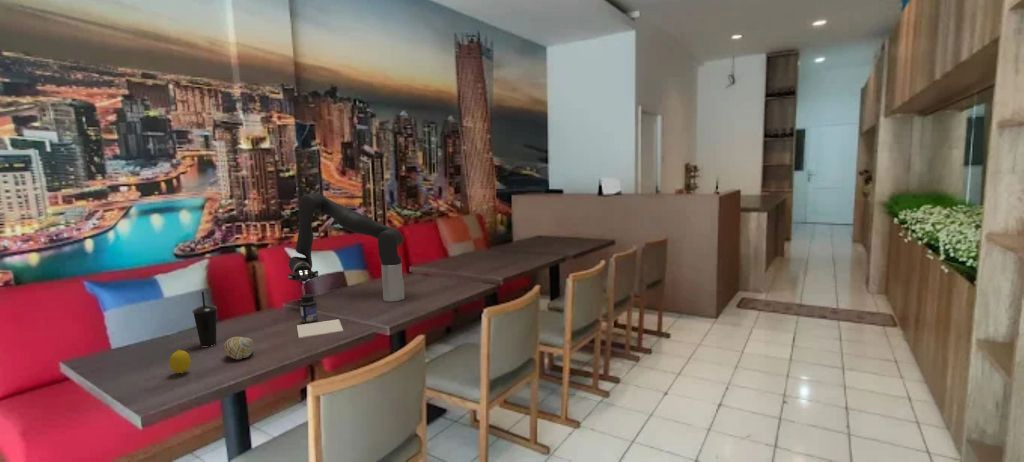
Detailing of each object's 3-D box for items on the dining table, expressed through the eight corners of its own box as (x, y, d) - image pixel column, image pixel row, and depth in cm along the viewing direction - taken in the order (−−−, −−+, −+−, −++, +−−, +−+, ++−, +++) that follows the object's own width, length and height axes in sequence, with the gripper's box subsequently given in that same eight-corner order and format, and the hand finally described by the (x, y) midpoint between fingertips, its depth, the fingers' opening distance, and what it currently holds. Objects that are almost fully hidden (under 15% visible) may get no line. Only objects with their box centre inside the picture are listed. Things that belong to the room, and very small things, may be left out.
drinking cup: (225, 342, 186) (219, 289, 183) (207, 350, 179) (201, 295, 176) (210, 340, 189) (204, 288, 186) (191, 347, 182) (184, 294, 179)
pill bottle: (320, 319, 211) (318, 293, 210) (313, 324, 205) (311, 297, 204) (306, 319, 212) (304, 293, 210) (298, 323, 206) (296, 297, 204)
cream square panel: (338, 320, 209) (338, 319, 209) (343, 331, 196) (343, 330, 196) (297, 326, 202) (296, 325, 202) (298, 338, 189) (298, 337, 189)
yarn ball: (235, 347, 179) (244, 323, 178) (256, 361, 178) (266, 337, 176) (212, 357, 170) (222, 332, 168) (235, 371, 168) (245, 346, 166)
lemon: (177, 370, 162) (174, 347, 161) (195, 369, 163) (192, 346, 161) (167, 378, 157) (164, 353, 155) (186, 377, 157) (183, 352, 156)
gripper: (286, 264, 228) (287, 272, 213) (317, 261, 234) (320, 269, 218) (287, 280, 229) (288, 289, 214) (318, 277, 235) (321, 286, 220)
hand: (304, 279), depth 216 cm, fingers closed
